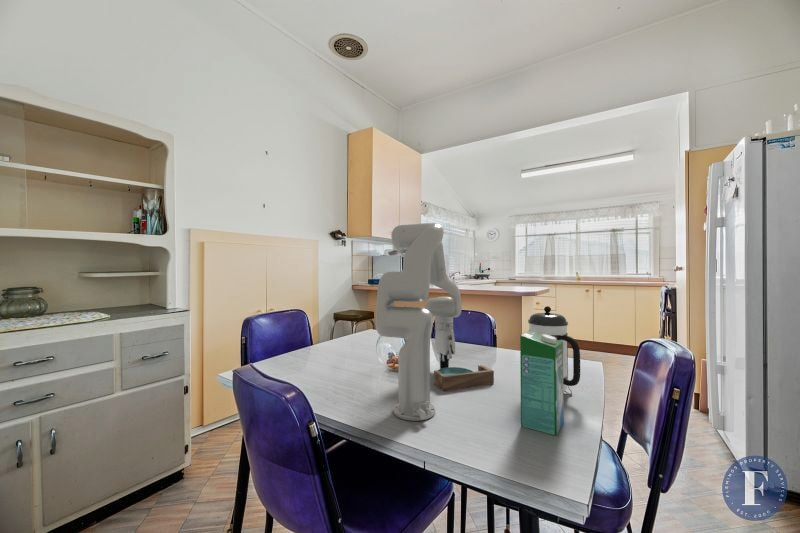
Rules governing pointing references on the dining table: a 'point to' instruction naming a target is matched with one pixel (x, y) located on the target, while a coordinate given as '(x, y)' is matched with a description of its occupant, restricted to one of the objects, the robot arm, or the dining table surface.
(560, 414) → the milk carton
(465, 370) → the saucer
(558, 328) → the coffee press
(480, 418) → the dining table surface
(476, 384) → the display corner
